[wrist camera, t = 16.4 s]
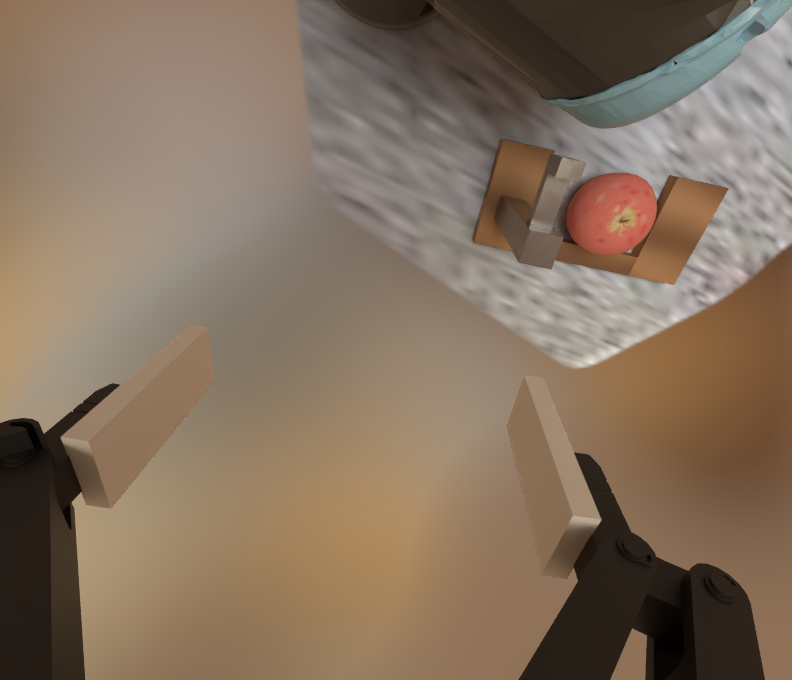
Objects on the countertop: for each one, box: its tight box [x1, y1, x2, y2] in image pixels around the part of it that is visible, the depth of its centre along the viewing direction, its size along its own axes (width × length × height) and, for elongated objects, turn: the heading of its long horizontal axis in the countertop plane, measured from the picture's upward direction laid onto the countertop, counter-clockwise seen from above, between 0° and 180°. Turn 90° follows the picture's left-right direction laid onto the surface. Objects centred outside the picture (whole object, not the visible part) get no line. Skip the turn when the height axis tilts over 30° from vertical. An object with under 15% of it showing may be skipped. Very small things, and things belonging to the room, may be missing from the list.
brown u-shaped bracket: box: [473, 139, 729, 285], centre depth 41 cm, size 10×22×2 cm, turn 79°
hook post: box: [494, 154, 586, 269], centre depth 34 cm, size 7×2×14 cm, turn 169°
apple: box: [566, 173, 657, 256], centre depth 38 cm, size 7×7×8 cm
